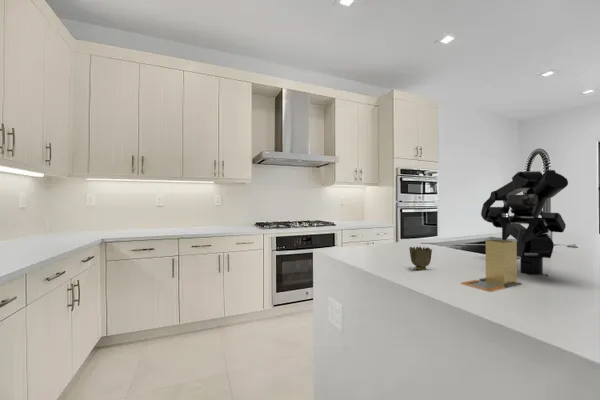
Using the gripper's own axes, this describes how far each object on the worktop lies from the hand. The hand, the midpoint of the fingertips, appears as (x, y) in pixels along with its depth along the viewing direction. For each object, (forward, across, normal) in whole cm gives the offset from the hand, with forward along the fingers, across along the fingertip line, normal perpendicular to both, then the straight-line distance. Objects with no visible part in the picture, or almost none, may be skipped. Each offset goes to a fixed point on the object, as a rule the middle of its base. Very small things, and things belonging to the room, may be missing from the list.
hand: (512, 240), depth 84 cm
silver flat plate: (+16, 0, +1) cm, 16 cm away
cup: (+18, -23, 0) cm, 29 cm away
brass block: (+13, 0, +4) cm, 13 cm away
